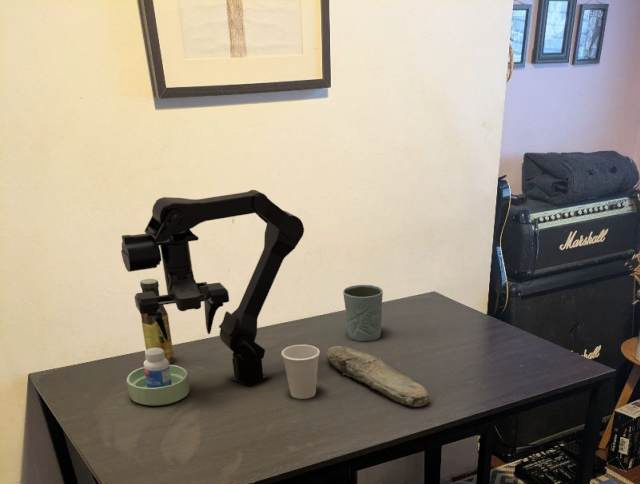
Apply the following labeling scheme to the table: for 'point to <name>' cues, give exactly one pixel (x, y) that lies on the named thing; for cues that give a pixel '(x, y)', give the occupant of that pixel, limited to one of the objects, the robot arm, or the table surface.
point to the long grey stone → (377, 375)
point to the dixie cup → (301, 370)
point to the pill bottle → (156, 368)
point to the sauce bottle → (151, 327)
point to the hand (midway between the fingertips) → (187, 336)
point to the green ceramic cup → (363, 312)
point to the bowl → (159, 394)
